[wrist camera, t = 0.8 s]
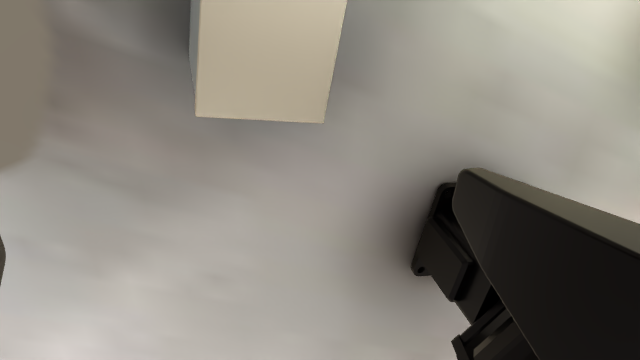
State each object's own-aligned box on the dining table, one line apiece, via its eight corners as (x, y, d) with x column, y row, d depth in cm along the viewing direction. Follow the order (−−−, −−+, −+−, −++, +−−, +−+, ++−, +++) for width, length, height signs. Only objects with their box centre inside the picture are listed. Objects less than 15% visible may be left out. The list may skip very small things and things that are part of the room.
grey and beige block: (299, -35, 18) (348, -7, 14) (284, 66, 20) (323, 123, 16) (191, -53, 17) (203, -29, 12) (187, 57, 19) (196, 116, 14)
